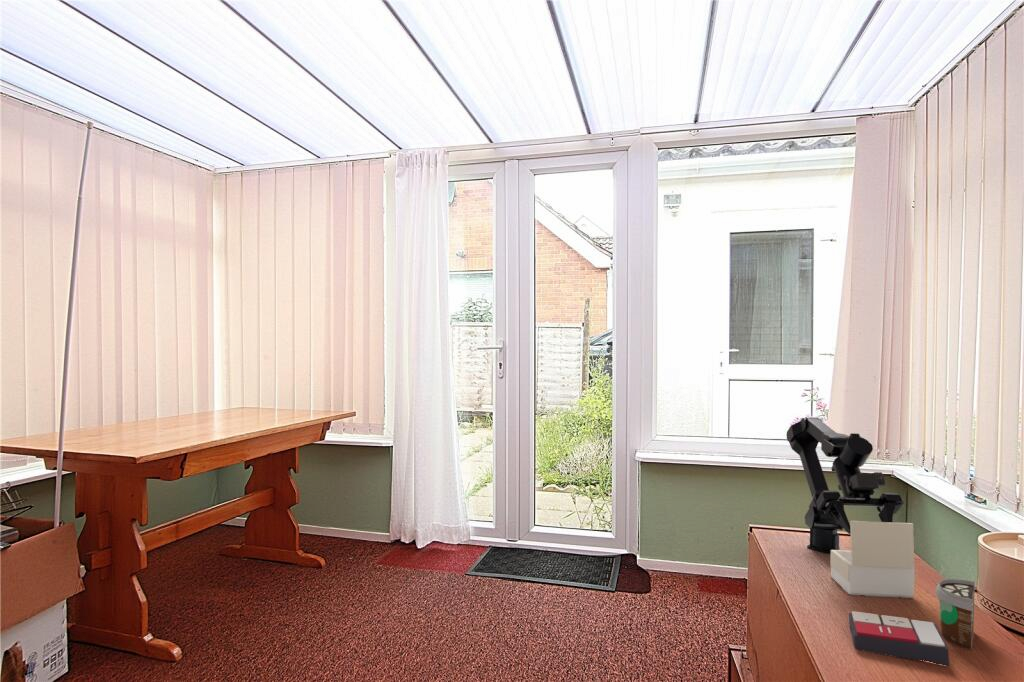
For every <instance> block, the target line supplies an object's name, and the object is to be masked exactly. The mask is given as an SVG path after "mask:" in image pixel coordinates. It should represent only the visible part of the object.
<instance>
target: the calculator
mask: <svg viewBox="0 0 1024 682" xmlns="http://www.w3.org/2000/svg"><path fill="white" fill-rule="evenodd" d="M848 622H849V623H848V624H849V625H850V626H849V629H850V634H852V635H851V638H852V641H853V642H852V643H853V647H855V648H854V649H856V650H858V649H859V650H858V651H863V650H864V652H869V653H873V652H874V654H878V653H880V654H879V655H883V654H887V655H886V656H888V655H892V656H891V657H894V656H896V657H895V658H900V657H902V658H901V659H906V658H910V659H909V660H913V659H916V660H915V661H919V660H922V661H923V660H924V661H929V662H933V663H936V664H942V665H946V666H949V667H950V656H949V654H950V653H949V648H948V647H949V646H948V645H947V643H946V641H945V638H944V637H943V636H942V633H941V632H940V630H939V628H938V627H937V625H936V623H934V622H932V621H924V620H917V619H909V618H907V617H901V616H893V615H883V614H881V615H880V616H879V614H877V613H867V612H861V611H853V610H852V611H851V612H850V613H848Z"/></svg>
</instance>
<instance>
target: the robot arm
mask: <svg viewBox="0 0 1024 682" xmlns="http://www.w3.org/2000/svg"><path fill="white" fill-rule="evenodd" d="M786 440H787V442H788V443H789V445H790V449H791V450H792V451H794V452H795V453H796V454H797V455H798V456H799V458H800V461H801V465H802V468H803V471H804V474H805V478H806V480H807V481H806V482H807V484H808V488H809V492H810V493H811V500H810V502H809V505H808V510H807V512H806V513H805V514H804V524H805V525H806V526H807V527H808V528H809V544H808V545H806V548H808V549H811V550H815V551H819V552H821V553H826V554H829V555H831V550H841V549H840V535H839V533H838V530H840V531H843V529H844V530H845V532H846V533H847V534H848V535H851V530H850V521H849V519H848V517H847V514H846V512H845V506H853V507H872V508H873V507H876V509H877V512H879V513H878V518H879V519H880V522H893V518H894V515H895V514H897V512H899V510H900V509H901V507H902V506H903V505H904V504H905V502H904V499H903V496H902V495H901V494H899V493H895V492H891V493H889V492H883V493H881V495H880V497H879V498H878V497H876V498H875V497H874V498H873V497H871V496H873V495H874V493H875V491H874V490H876V489H879V488H881V487H884V486H885V485H886V479H885V476H884V473H883V472H878V471H876V472H873V473H862V470H861V469H860V468H861V467H863V466H864V465H865V464H866V462H867V460H868V459H869V457H870V456H871V453H872V452H873V451H874V447H873V443H870V441H869V440H868V439H865V438H864V437H861V435H860V433H856V432H855V433H853V432H851V433H850V434H849V435H848V434H845V433H839V432H837V431H835V430H833V429H832V428H831V427H830V426H828V425H827V424H826V423H825V422H823V420H822V418H820V417H816V416H815V417H810V416H808V417H807V416H806V417H802V418H801V419H800V421H798V422H796V423H793V424H791V425H790V426H789V427H788V429H787V431H786ZM819 443H820V445H821V448H820V450H821V451H822V453H823V454H824V455H825V456H826V457H827V458H835V459H834V460H833V461H832V466H831V472H834V473H835V475H836V478H837V482H838V485H837V489H838V491H837V490H830V489H829V486H828V483H827V480H826V479H827V478H826V476H825V475H824V470H823V468H822V464H821V462H820V459H819V456H818V452H817V450H816V449H817V447H818V445H819ZM839 491H841V492H842V496H841V493H840V492H839Z"/></svg>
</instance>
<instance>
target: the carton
mask: <svg viewBox="0 0 1024 682" xmlns="http://www.w3.org/2000/svg"><path fill="white" fill-rule="evenodd" d="M829 562H830V565H829V567H830V578H831V577H832V578H833V579H834V580H835V581H836V582H837V583H838V584H839V585H840V586H841V587H842V588H841V587H840V586H839V585H838V584H837V583H836V582H835V581H834V580H833V579H832V578H831V579H832V580H833V581H834V582H835V583H836V584H837V585H838V586H839V587H840V588H841V589H842V590H843V591H845V592H846V593H847V594H848V595H849V594H850V595H849V596H860V595H865V596H864V597H878V598H879V597H881V598H882V597H884V598H899V597H901V599H902V598H903V599H904V598H905V599H914V597H915V596H914V595H915V593H914V590H915V589H914V586H915V585H916V582H915V580H916V567H915V566H914V568H896V567H875V566H854V565H851V550H846V549H845V550H841V549H839V550H831V554H830V561H829Z"/></svg>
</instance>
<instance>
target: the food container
mask: <svg viewBox="0 0 1024 682" xmlns="http://www.w3.org/2000/svg"><path fill="white" fill-rule="evenodd" d="M975 583H976V582H975V581H973V580H966V579H960V578H959V579H958V578H948V579H942V580H940V581H939V582H938V584H937V585H936V588H935V591H934V592H935V593H934V594H935V595H936V597H937V598H938V599H939V613H940V614H939V615H940V626H941V627H940V628H941V629H940V630H941V632H940V633H941V636H942V638H943V639H944V640H946V641H948V642H949V643H951V644H954V645H956V646H958V647H960V648H963V649H966V650H970V651H971V650H972V648H973V647H972V645H973V638H974V633H975V632H974V629H975V624H974V623H975V621H974V620H975V589H976V587H975Z"/></svg>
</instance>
